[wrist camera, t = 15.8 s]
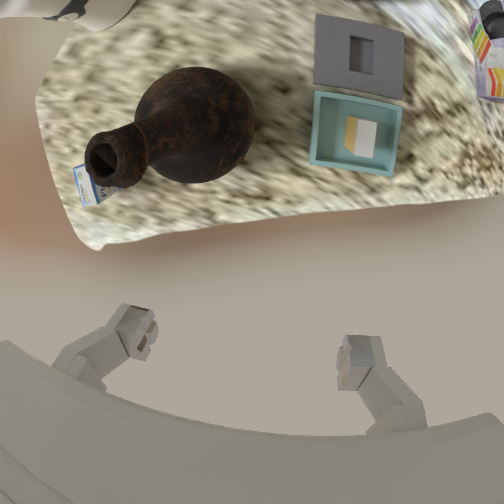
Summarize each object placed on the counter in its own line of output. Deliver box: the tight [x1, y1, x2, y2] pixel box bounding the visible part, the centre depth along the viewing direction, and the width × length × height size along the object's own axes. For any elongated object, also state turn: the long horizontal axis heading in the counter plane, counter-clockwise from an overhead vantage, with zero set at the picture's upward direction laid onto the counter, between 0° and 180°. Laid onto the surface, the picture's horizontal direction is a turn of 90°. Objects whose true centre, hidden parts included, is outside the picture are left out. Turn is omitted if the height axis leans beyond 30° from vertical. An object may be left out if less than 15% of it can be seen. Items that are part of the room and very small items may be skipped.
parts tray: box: [309, 90, 403, 177], centre depth 37 cm, size 12×14×4 cm
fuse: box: [344, 116, 377, 158], centre depth 34 cm, size 5×3×8 cm, turn 179°
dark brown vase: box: [85, 67, 255, 188], centre depth 29 cm, size 18×18×28 cm
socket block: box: [313, 14, 404, 100], centre depth 30 cm, size 12×14×2 cm
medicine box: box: [73, 163, 122, 207], centre depth 44 cm, size 8×4×9 cm, turn 6°
